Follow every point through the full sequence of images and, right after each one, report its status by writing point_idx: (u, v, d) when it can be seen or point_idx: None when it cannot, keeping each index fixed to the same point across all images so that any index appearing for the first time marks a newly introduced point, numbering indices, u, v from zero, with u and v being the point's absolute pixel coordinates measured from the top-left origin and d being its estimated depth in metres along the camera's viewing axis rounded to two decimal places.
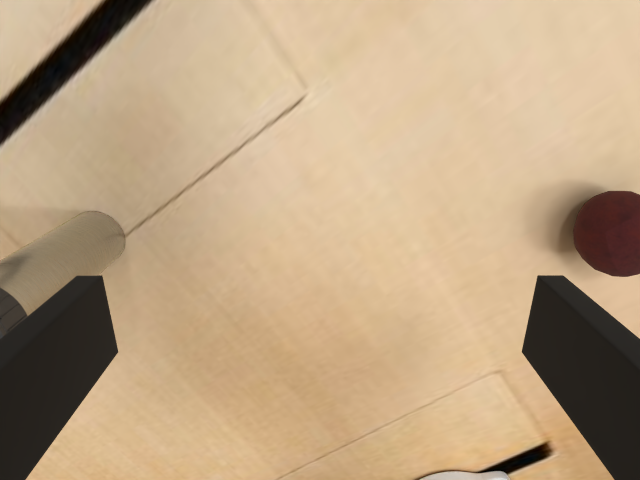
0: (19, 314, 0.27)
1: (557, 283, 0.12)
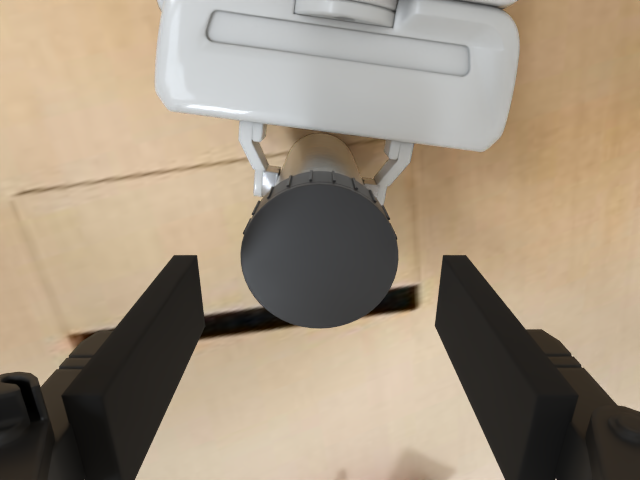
0: None
1: (457, 261, 0.13)
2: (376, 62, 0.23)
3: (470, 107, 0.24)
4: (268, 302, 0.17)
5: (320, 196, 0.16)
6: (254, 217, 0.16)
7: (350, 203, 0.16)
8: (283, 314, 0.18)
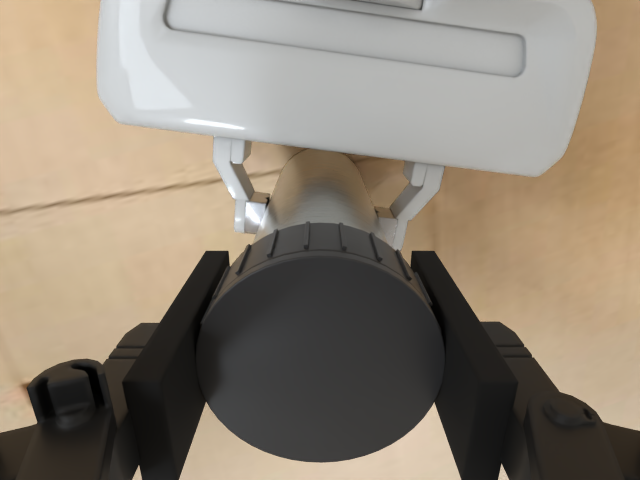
0: None
1: (425, 257, 0.14)
2: (397, 58, 0.17)
3: (524, 118, 0.18)
4: (241, 427, 0.11)
5: (322, 275, 0.10)
6: (214, 306, 0.10)
7: (371, 285, 0.10)
8: (264, 443, 0.11)
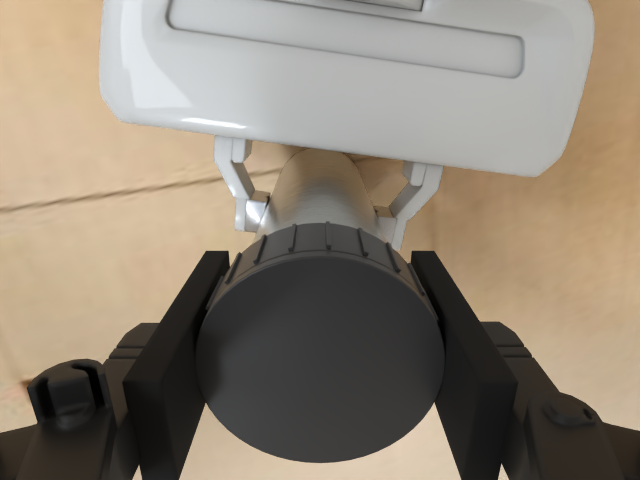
0: None
1: (425, 257, 0.14)
2: (397, 58, 0.17)
3: (522, 119, 0.18)
4: (408, 419, 0.11)
5: (218, 391, 0.11)
6: (277, 456, 0.12)
7: (213, 353, 0.10)
8: (426, 397, 0.11)
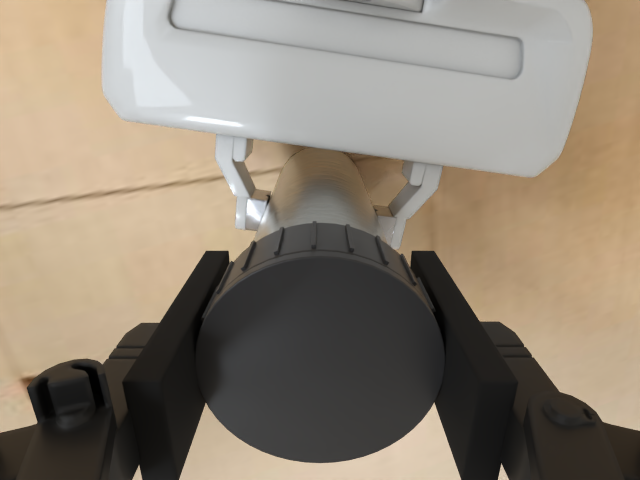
0: None
1: (424, 257, 0.14)
2: (398, 59, 0.17)
3: (521, 120, 0.18)
4: (360, 275, 0.10)
5: (366, 442, 0.11)
6: (440, 384, 0.11)
7: (325, 450, 0.11)
8: (325, 266, 0.09)
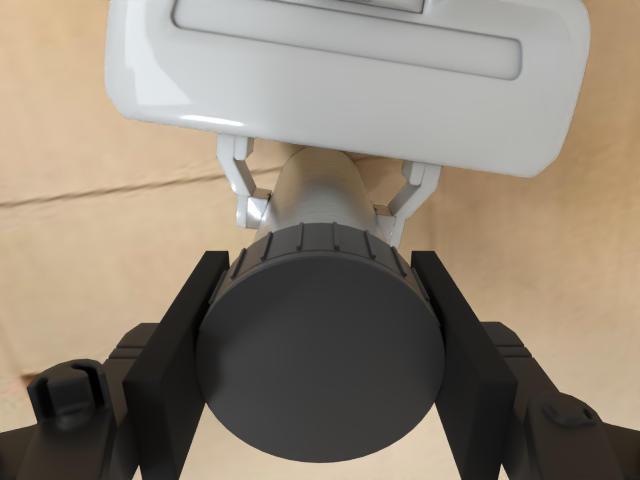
0: (257, 245, 0.11)
1: (425, 256, 0.14)
2: (398, 59, 0.18)
3: (520, 120, 0.18)
4: (207, 363, 0.10)
5: (403, 307, 0.10)
6: (302, 259, 0.09)
7: (424, 343, 0.10)
8: (210, 390, 0.11)
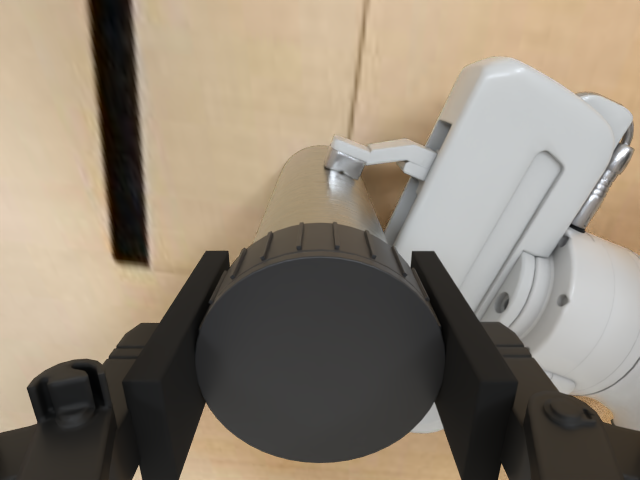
0: (257, 245, 0.11)
1: (425, 257, 0.14)
2: None
3: None
4: (207, 363, 0.10)
5: (403, 307, 0.10)
6: (302, 259, 0.09)
7: (424, 343, 0.10)
8: (210, 389, 0.11)
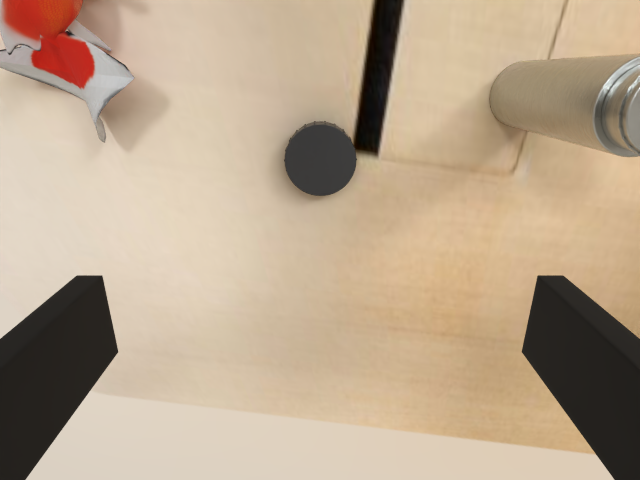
0: None
1: (557, 283, 0.12)
2: None
3: None
4: (288, 158, 0.37)
5: (343, 140, 0.36)
6: (315, 125, 0.36)
7: (349, 151, 0.37)
8: (288, 168, 0.37)
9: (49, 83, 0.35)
